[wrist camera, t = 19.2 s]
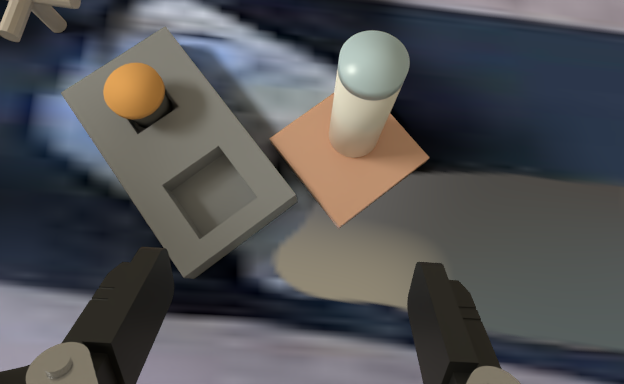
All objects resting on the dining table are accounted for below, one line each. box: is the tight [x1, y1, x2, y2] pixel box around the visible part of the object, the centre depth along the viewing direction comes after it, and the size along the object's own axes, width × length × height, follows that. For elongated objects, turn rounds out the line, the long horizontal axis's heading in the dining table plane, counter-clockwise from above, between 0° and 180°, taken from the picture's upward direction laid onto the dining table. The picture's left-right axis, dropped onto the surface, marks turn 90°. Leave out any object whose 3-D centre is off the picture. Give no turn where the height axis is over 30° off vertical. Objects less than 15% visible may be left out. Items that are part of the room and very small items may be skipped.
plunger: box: [103, 63, 172, 128], centre depth 37 cm, size 5×5×4 cm
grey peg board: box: [61, 27, 298, 279], centre depth 38 cm, size 12×22×3 cm, turn 37°
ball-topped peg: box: [329, 31, 410, 158], centre depth 33 cm, size 5×5×12 cm
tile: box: [269, 93, 429, 229], centre depth 39 cm, size 11×11×1 cm
